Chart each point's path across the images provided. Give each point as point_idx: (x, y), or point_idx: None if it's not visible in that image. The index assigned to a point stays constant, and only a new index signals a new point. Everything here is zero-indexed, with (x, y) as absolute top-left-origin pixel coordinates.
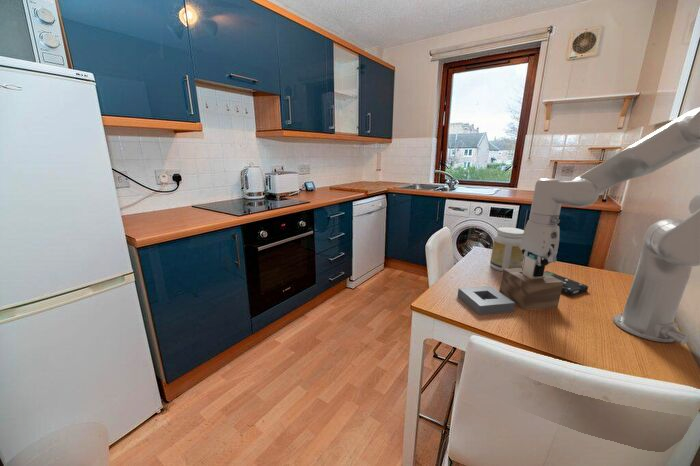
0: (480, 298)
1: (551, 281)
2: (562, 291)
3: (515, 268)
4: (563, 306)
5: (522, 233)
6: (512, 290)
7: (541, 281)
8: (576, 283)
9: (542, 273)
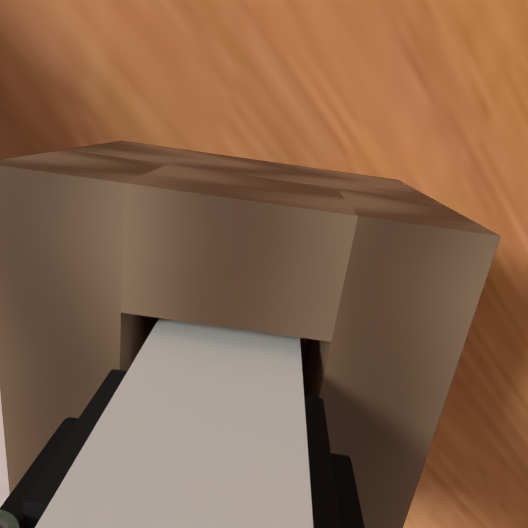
0: None
1: (426, 369)
2: None
3: (11, 425)
4: (406, 117)
5: None
6: None
7: (380, 461)
8: None
9: (348, 475)
